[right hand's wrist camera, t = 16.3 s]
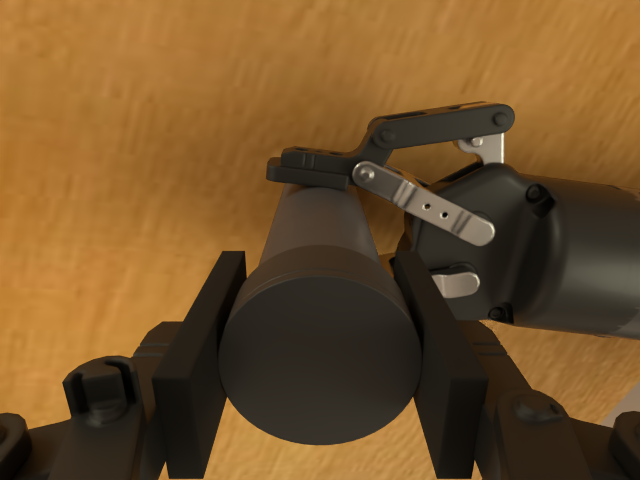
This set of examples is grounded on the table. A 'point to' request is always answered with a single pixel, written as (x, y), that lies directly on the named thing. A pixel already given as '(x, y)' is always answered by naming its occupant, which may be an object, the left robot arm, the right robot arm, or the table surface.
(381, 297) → the lid
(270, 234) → the dark grey cylinder
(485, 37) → the table surface
